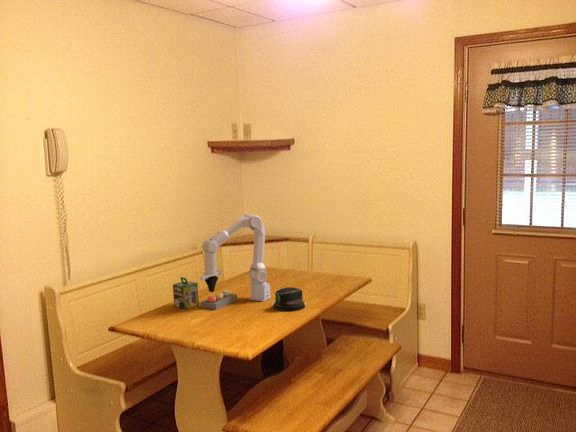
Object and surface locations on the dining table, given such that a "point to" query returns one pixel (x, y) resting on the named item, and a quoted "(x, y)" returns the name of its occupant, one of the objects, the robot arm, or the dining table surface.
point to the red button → (212, 299)
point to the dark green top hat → (289, 300)
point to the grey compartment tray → (219, 302)
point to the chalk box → (185, 294)
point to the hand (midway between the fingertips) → (211, 291)
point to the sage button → (226, 293)
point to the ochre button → (219, 296)
